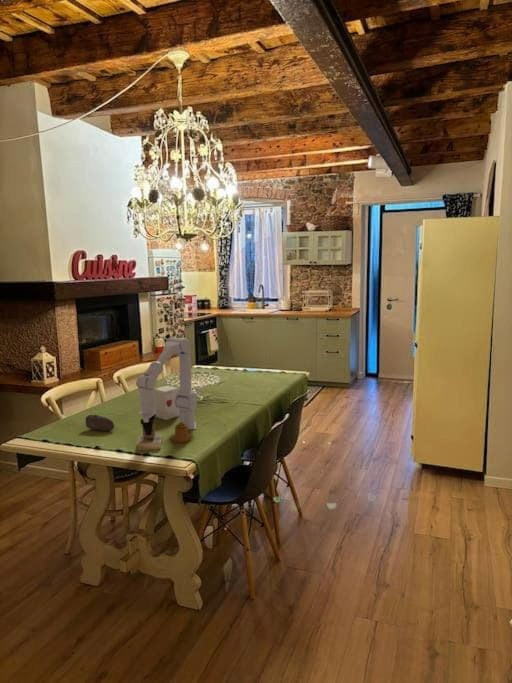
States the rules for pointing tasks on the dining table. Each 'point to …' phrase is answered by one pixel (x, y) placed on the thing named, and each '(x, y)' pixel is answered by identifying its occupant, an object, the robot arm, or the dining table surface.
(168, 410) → the supplement box
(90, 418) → the perforated stone tool
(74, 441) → the dining table surface
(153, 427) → the walnut block
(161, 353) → the robot arm
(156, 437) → the wooden framed grey panel
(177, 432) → the ornamental finial
